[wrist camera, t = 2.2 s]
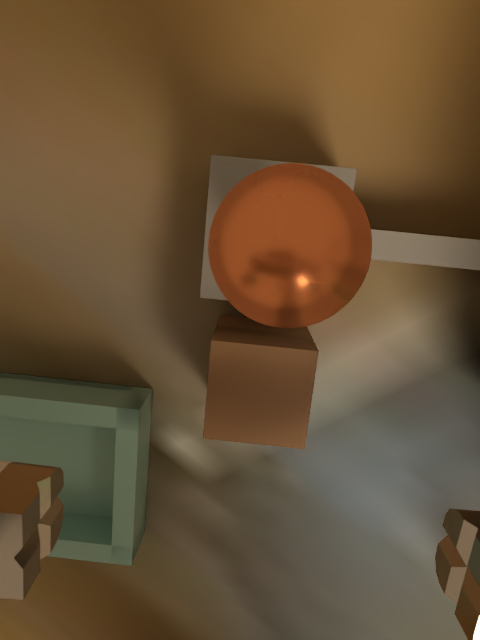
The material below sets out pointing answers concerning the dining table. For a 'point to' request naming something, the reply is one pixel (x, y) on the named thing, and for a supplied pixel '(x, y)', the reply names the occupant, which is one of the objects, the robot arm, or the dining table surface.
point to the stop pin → (290, 245)
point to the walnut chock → (259, 383)
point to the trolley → (383, 242)
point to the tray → (84, 457)
